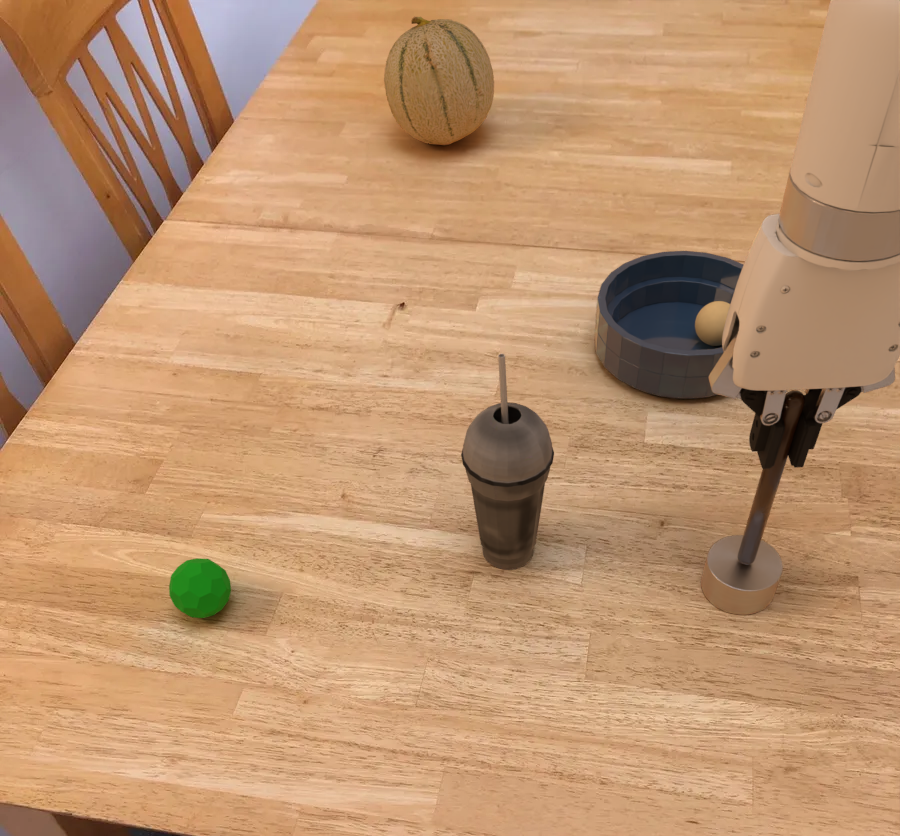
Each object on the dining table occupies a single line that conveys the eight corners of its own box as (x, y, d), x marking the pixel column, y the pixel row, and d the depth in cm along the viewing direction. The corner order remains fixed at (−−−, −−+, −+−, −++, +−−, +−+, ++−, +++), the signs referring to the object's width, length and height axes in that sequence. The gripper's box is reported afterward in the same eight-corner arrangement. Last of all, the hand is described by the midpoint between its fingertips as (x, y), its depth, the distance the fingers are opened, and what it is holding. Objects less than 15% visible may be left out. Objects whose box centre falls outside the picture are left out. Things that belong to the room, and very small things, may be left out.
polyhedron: (248, 602, 79) (234, 566, 75) (203, 638, 77) (187, 603, 73) (211, 574, 81) (196, 538, 78) (167, 608, 79) (149, 572, 76)
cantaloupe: (488, 166, 123) (485, 44, 111) (380, 163, 125) (366, 43, 113) (501, 114, 132) (500, -5, 120) (401, 112, 134) (390, -5, 122)
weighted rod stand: (766, 558, 79) (830, 361, 63) (781, 613, 75) (854, 420, 59) (695, 560, 79) (741, 365, 63) (707, 616, 76) (760, 424, 59)
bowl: (746, 296, 102) (757, 246, 97) (782, 400, 91) (796, 350, 87) (586, 304, 103) (590, 255, 98) (603, 408, 92) (607, 359, 87)
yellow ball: (730, 327, 98) (738, 291, 94) (738, 353, 95) (747, 317, 91) (688, 329, 98) (695, 293, 94) (695, 355, 95) (702, 319, 92)
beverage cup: (481, 591, 79) (473, 408, 63) (456, 531, 83) (443, 346, 67) (561, 569, 80) (573, 384, 64) (533, 511, 84) (538, 324, 68)
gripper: (972, 167, 53) (874, 414, 68) (698, 182, 54) (659, 424, 68) (1022, 239, 48) (905, 488, 63) (722, 254, 49) (674, 497, 64)
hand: (777, 453), depth 65 cm, fingers closed on weighted rod stand, 1 cm apart
